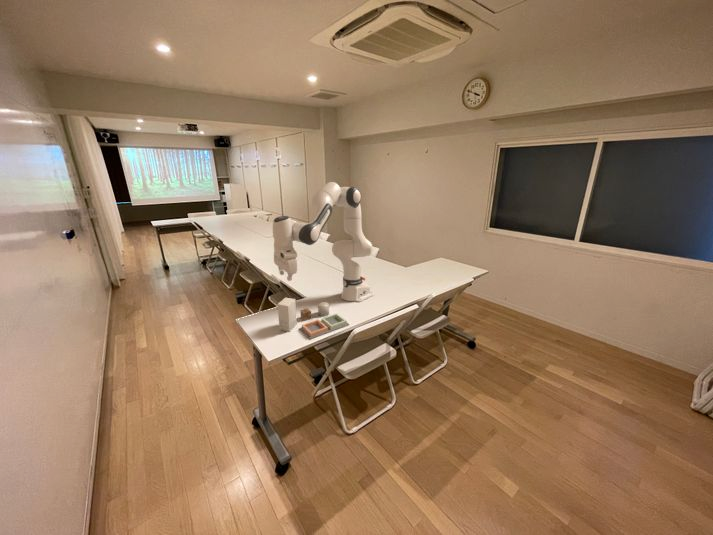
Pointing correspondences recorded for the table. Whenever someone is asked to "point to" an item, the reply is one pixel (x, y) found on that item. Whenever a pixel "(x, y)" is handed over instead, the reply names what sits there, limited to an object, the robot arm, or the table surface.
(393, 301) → the table surface
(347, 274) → the robot arm
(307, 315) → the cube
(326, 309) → the grey rounded cylinder
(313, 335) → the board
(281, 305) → the skincare box
